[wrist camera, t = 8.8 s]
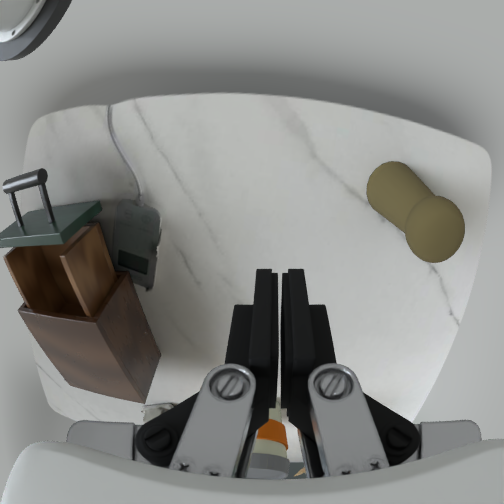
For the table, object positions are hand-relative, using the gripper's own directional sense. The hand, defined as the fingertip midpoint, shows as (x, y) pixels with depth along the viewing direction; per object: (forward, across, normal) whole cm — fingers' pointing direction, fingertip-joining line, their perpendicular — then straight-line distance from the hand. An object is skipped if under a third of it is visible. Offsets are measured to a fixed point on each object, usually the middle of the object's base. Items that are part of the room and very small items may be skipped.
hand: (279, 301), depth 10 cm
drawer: (+17, +26, +6) cm, 32 cm away
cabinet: (+18, +25, +20) cm, 37 cm away
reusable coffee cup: (+19, +3, +44) cm, 48 cm away
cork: (+19, -12, +1) cm, 22 cm away
